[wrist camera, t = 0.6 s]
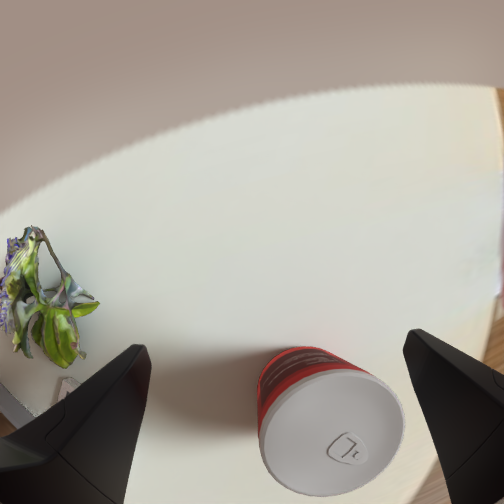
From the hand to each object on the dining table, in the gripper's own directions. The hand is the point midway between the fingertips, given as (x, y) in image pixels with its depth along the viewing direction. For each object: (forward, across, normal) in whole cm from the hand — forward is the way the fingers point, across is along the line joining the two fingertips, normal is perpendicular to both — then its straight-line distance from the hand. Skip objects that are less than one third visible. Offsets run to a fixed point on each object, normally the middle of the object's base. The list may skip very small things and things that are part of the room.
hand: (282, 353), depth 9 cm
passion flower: (+14, +19, +6) cm, 25 cm away
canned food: (+9, -3, +13) cm, 16 cm away
